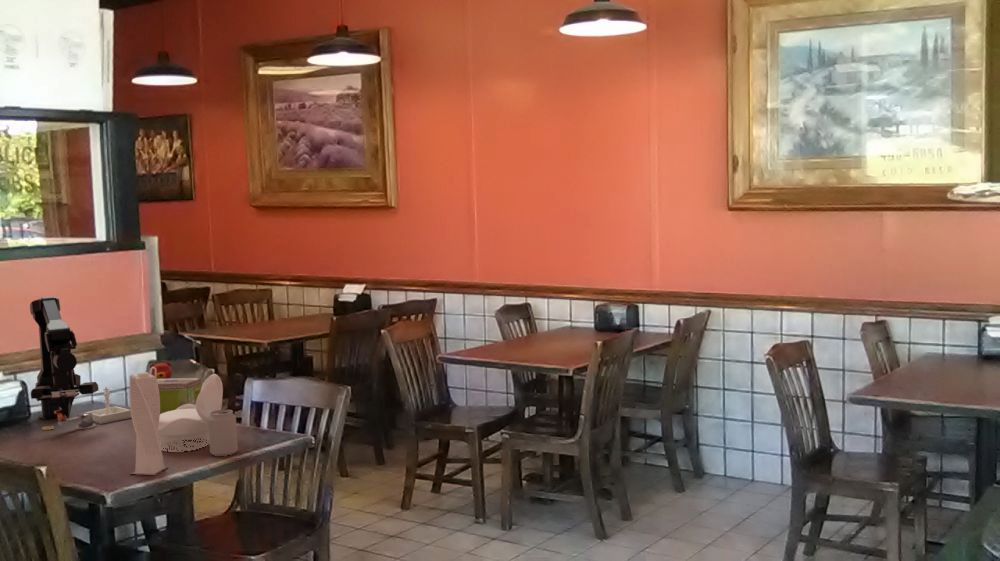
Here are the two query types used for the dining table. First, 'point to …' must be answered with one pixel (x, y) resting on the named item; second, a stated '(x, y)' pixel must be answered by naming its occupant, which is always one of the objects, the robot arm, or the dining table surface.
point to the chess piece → (107, 402)
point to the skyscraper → (146, 422)
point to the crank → (75, 419)
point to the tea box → (178, 392)
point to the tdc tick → (47, 427)
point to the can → (222, 433)
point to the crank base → (86, 426)
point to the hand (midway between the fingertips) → (68, 417)
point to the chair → (191, 417)
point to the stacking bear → (162, 370)
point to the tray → (110, 415)
